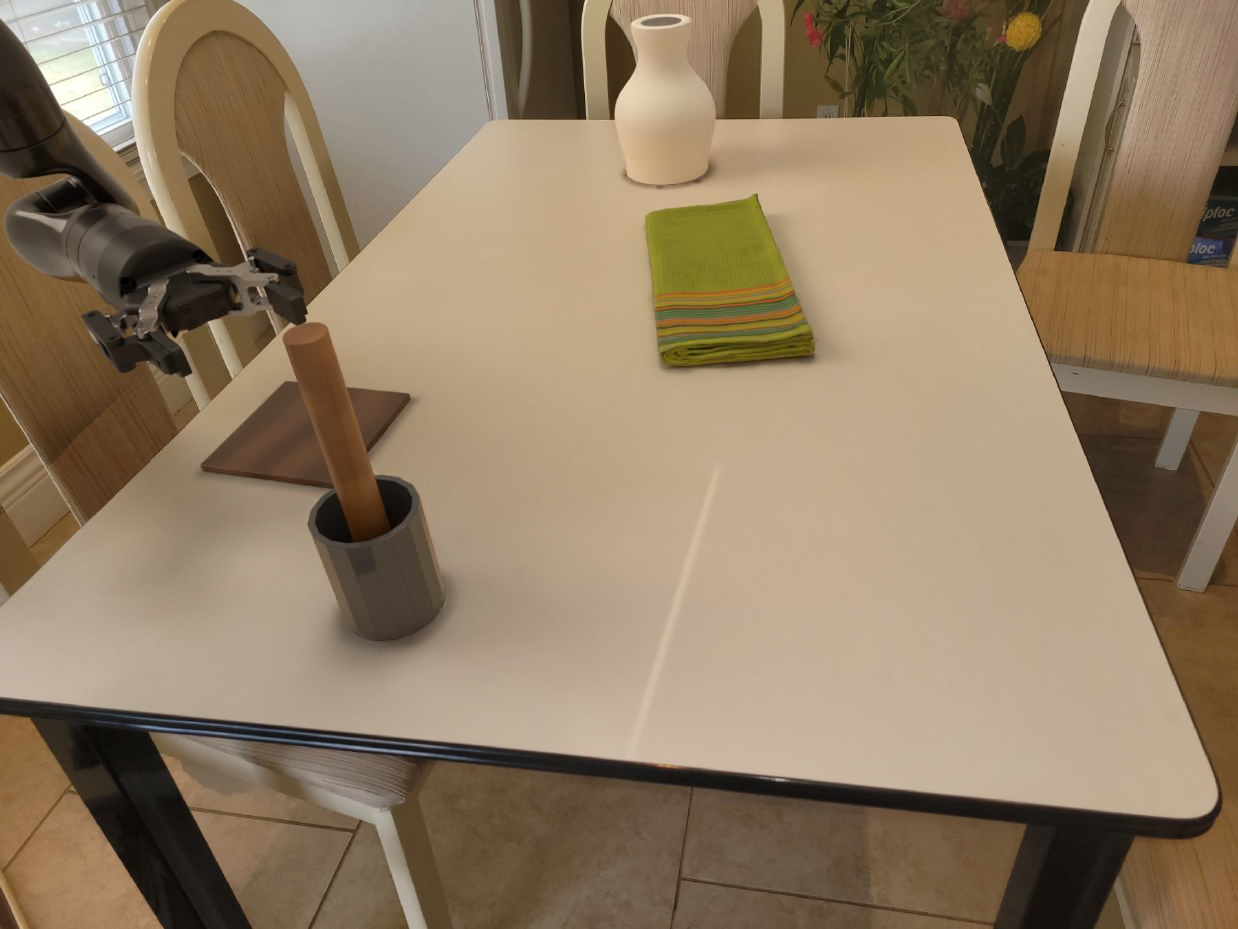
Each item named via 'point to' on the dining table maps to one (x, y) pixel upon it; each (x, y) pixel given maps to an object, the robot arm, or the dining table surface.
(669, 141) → the vase
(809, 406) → the dining table surface
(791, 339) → the dish towel
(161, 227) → the robot arm
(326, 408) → the cylinder
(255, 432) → the board
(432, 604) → the holder
